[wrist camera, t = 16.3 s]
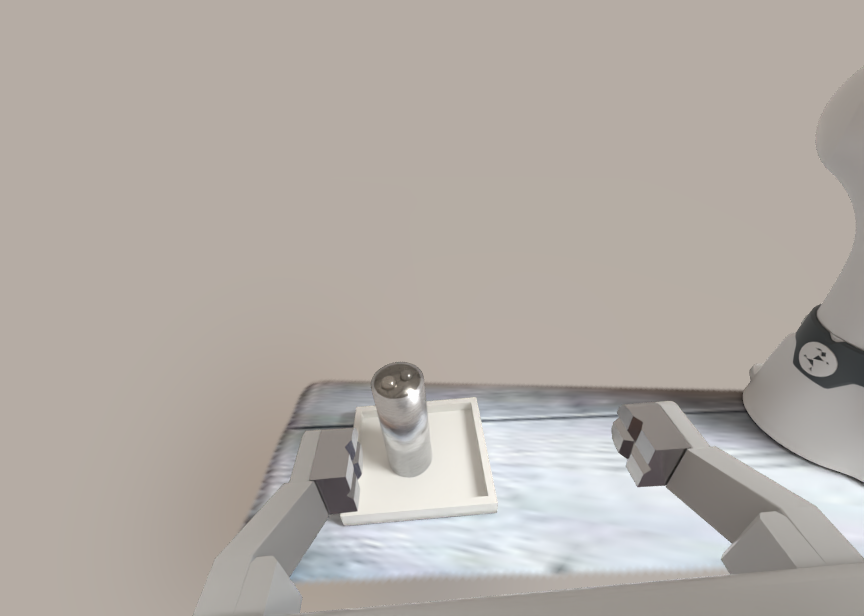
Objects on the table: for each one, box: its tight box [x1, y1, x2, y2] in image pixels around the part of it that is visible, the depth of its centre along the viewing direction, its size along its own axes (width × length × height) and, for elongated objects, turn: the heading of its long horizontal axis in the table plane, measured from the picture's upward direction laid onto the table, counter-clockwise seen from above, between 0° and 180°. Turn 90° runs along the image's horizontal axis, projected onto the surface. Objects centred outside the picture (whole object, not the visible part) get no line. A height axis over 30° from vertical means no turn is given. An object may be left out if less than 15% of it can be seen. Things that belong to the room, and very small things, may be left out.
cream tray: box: [340, 397, 498, 526], centre depth 43 cm, size 16×14×2 cm
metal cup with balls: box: [371, 362, 432, 478], centre depth 39 cm, size 5×5×14 cm
